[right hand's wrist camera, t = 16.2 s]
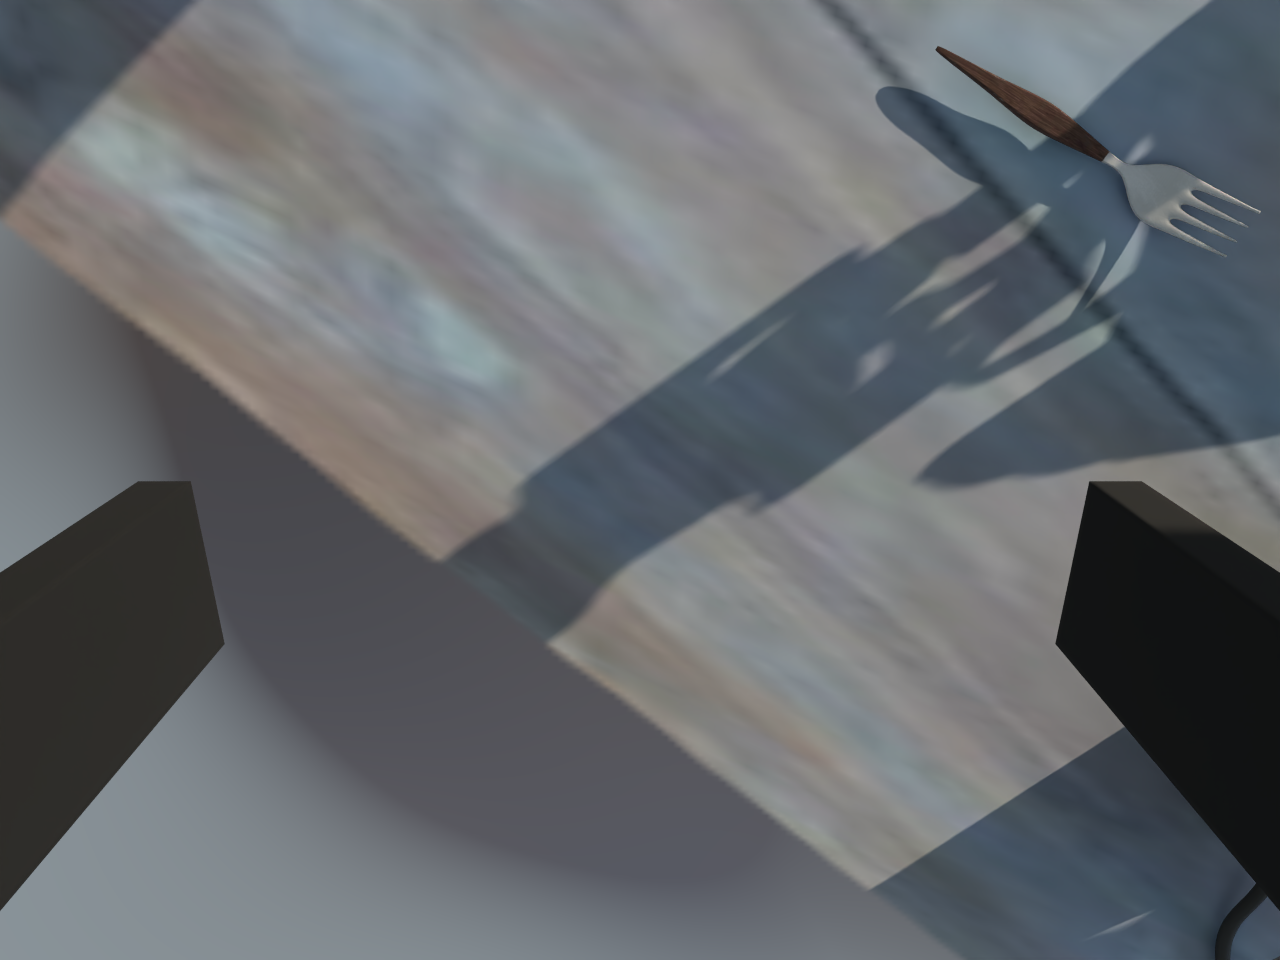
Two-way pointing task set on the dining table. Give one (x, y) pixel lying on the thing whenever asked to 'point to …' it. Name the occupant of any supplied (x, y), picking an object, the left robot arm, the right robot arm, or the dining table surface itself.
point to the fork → (1110, 159)
